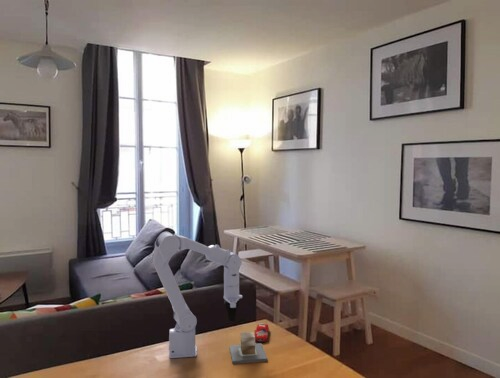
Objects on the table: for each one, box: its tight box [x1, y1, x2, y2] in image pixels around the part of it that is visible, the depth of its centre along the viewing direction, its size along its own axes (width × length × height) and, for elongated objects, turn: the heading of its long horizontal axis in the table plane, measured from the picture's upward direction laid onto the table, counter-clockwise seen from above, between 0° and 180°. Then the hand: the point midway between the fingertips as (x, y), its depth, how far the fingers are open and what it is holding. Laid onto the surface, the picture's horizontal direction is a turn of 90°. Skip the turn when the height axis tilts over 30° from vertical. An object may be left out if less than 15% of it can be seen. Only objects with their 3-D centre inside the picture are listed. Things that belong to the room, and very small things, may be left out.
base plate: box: [229, 342, 268, 365], centre depth 138 cm, size 12×12×1 cm
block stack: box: [240, 331, 256, 355], centre depth 138 cm, size 4×4×6 cm
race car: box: [254, 322, 270, 343], centre depth 154 cm, size 13×5×4 cm, turn 172°
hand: (231, 320), depth 147 cm, fingers closed
